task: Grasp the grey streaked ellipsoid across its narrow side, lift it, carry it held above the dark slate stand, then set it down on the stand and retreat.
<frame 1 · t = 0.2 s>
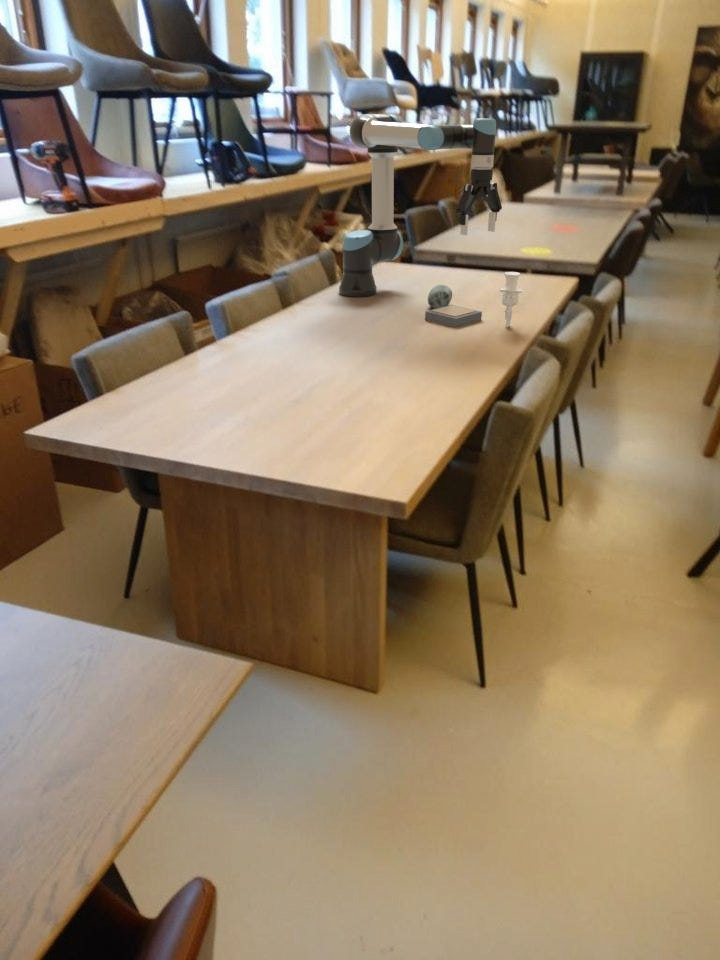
hand: (477, 233, 265), 27 cm above the table, fingers open, 13 cm apart
stand: (453, 319, 263), on the table
grey streaked ellipsoid: (439, 308, 279), on the table
figurine: (507, 327, 254), on the table
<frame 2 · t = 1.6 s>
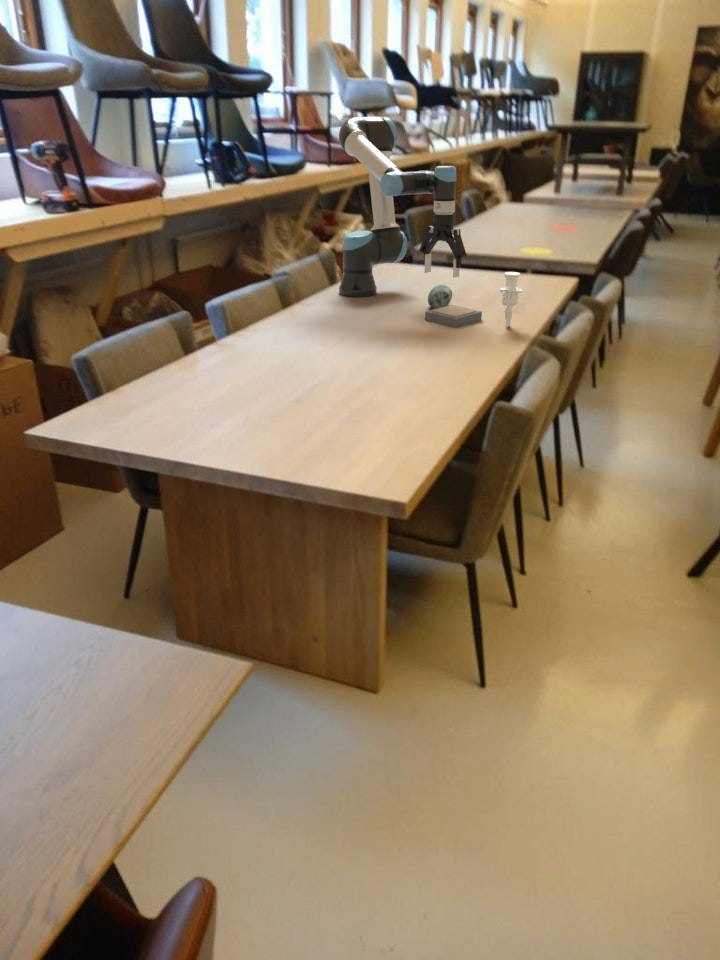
hand: (441, 274, 273), 12 cm above the table, fingers open, 13 cm apart
nothing on the table moved.
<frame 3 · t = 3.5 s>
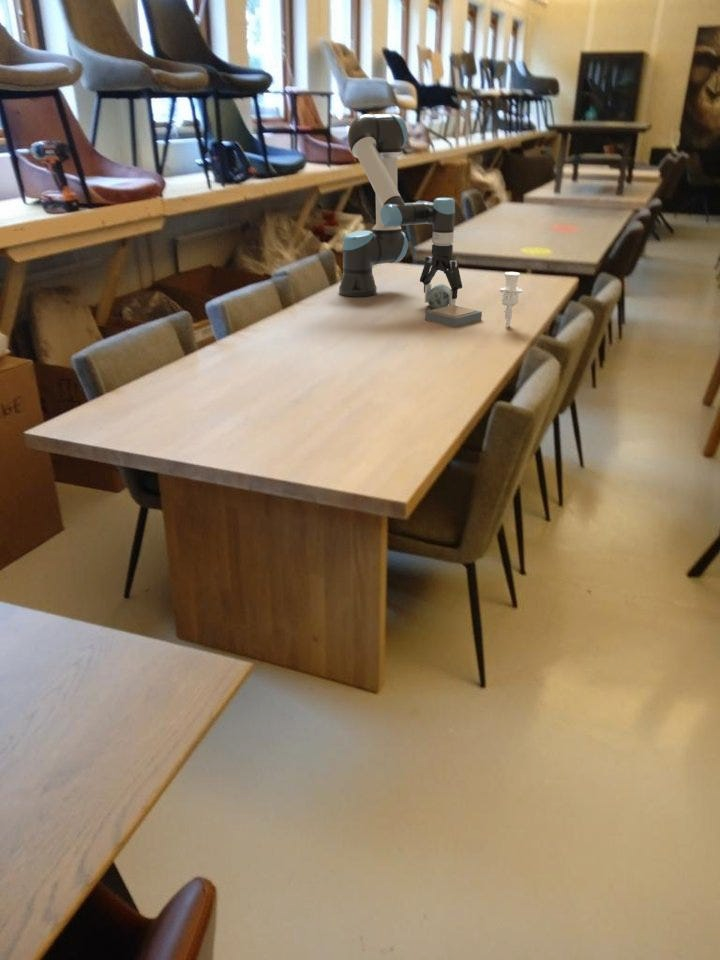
hand: (439, 304, 278), 1 cm above the table, fingers closed on grey streaked ellipsoid, 11 cm apart
grey streaked ellipsoid: (439, 308, 279), on the table, touching gripper
everything else where it was.
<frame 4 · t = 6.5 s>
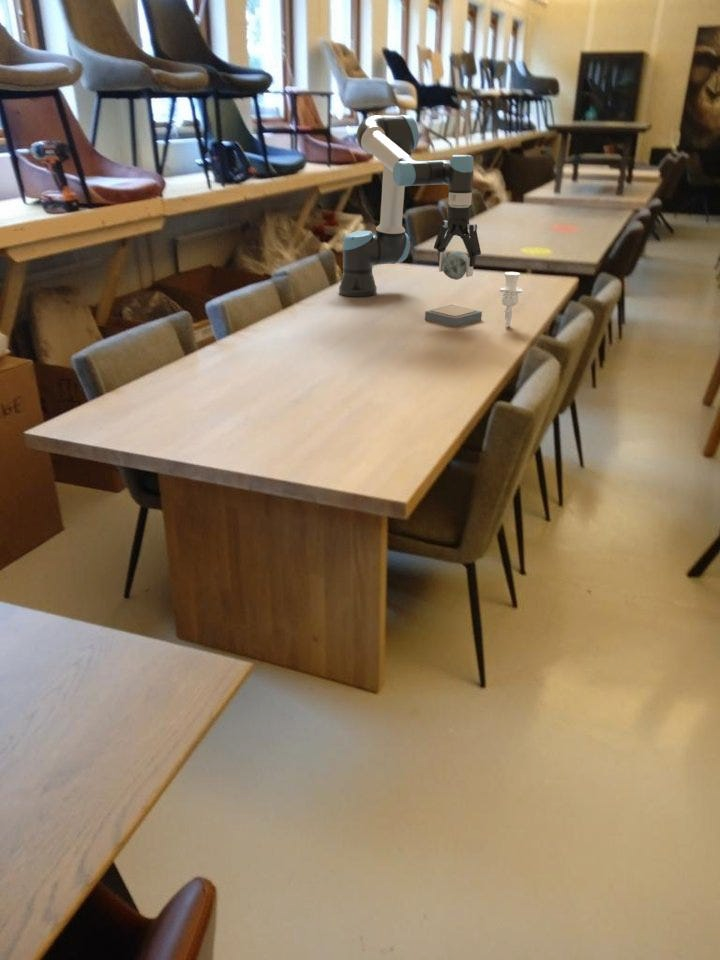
hand: (455, 273, 256), 16 cm above the table, fingers closed on grey streaked ellipsoid, 11 cm apart
grey streaked ellipsoid: (455, 277, 256), point 15 cm above the table, touching gripper
everything else where it was.
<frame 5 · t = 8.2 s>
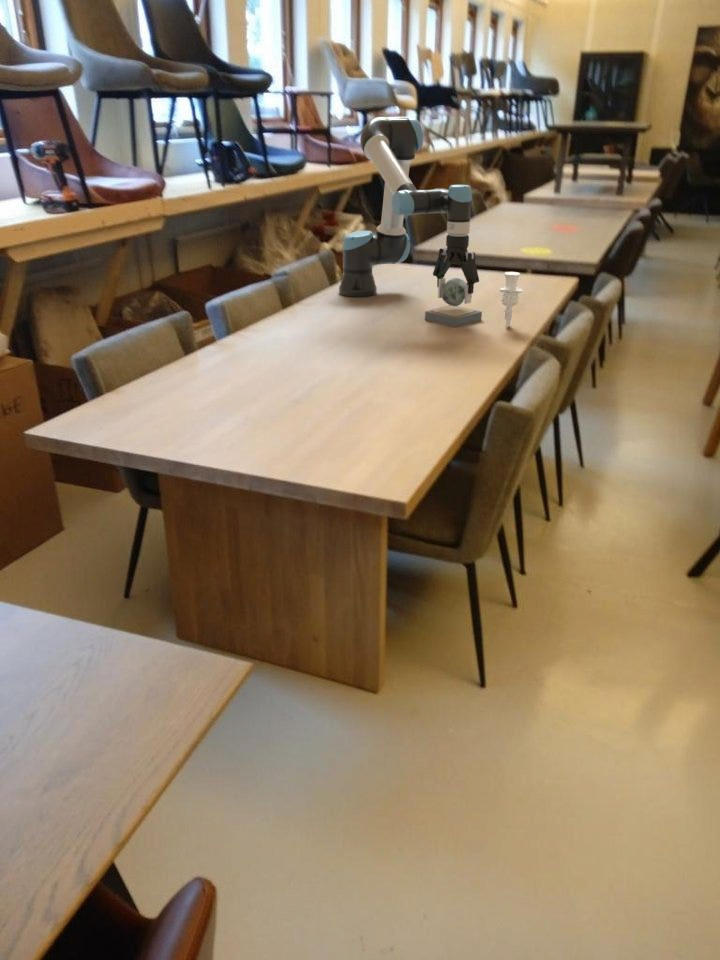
hand: (454, 300, 260), 7 cm above the table, fingers closed on grey streaked ellipsoid, 11 cm apart
grey streaked ellipsoid: (453, 303, 260), point 6 cm above the table, touching gripper
everything else where it was.
when the fingers open (5 cm above the table, at t = 9.6 s): grey streaked ellipsoid stays where it is, resting on stand.
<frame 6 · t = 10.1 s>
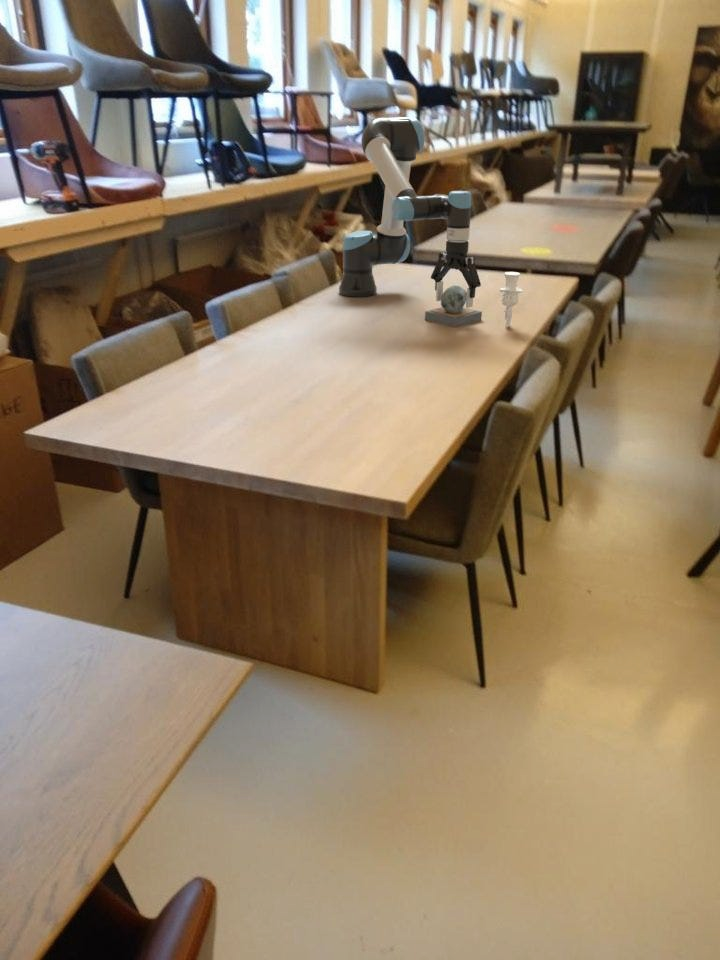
hand: (453, 303, 260), 6 cm above the table, fingers open, 13 cm apart
grey streaked ellipsoid: (453, 311, 261), point 3 cm above the table, touching stand
everything else where it was.
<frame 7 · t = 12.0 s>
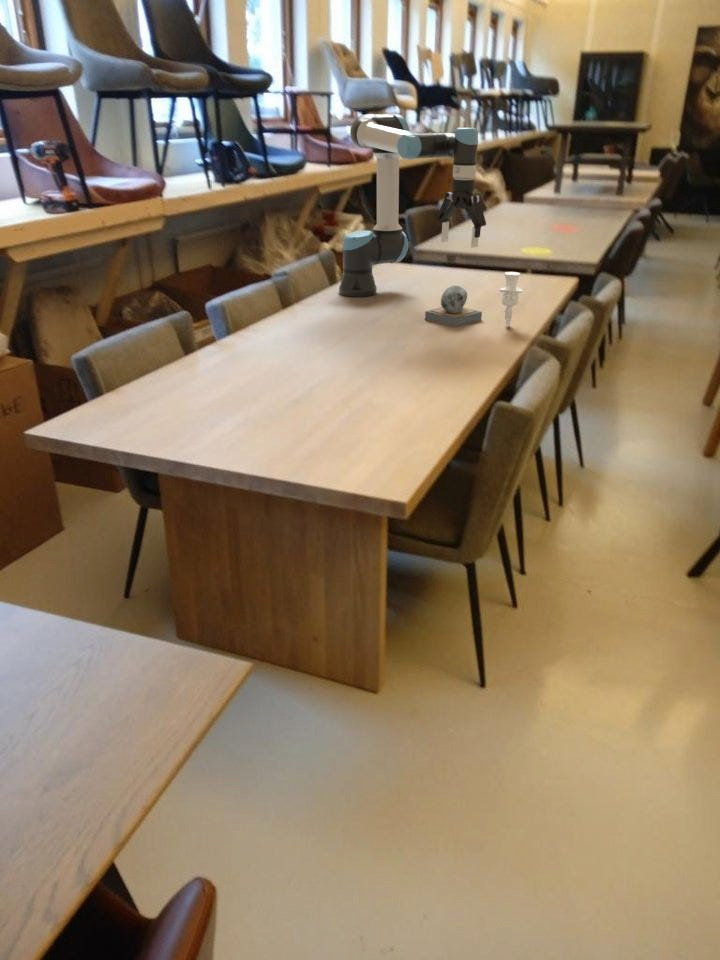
hand: (459, 244, 259), 24 cm above the table, fingers open, 13 cm apart
nothing on the table moved.
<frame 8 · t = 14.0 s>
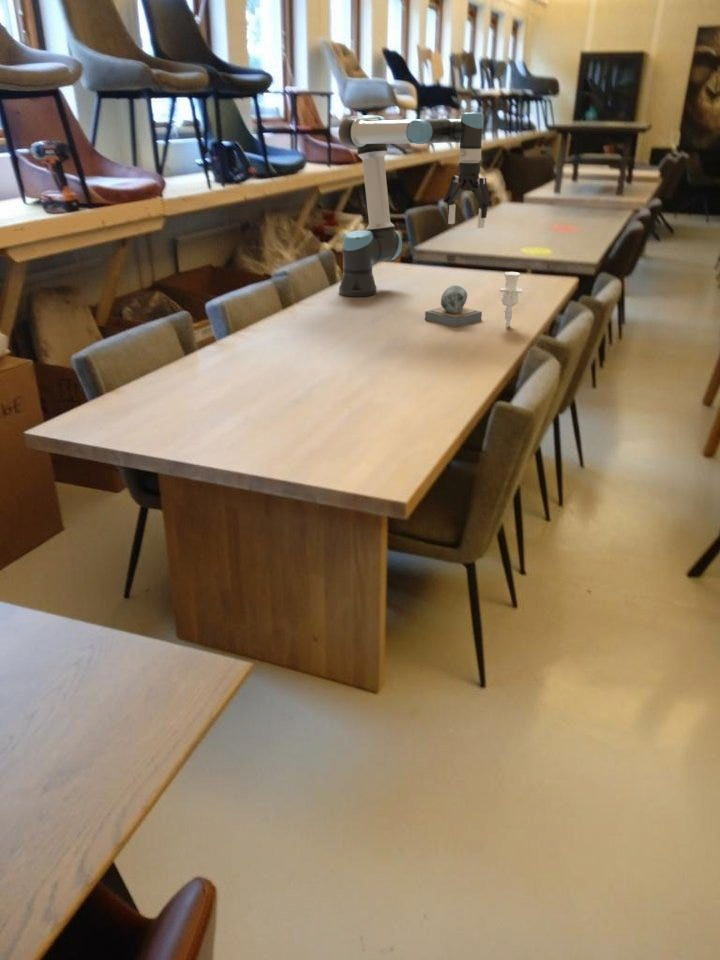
hand: (465, 225, 269), 29 cm above the table, fingers open, 13 cm apart
nothing on the table moved.
at the end: grey streaked ellipsoid 0.2 cm from the stand (horizontally); grey streaked ellipsoid point 3.1 cm above the table; the gripper is holding nothing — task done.
